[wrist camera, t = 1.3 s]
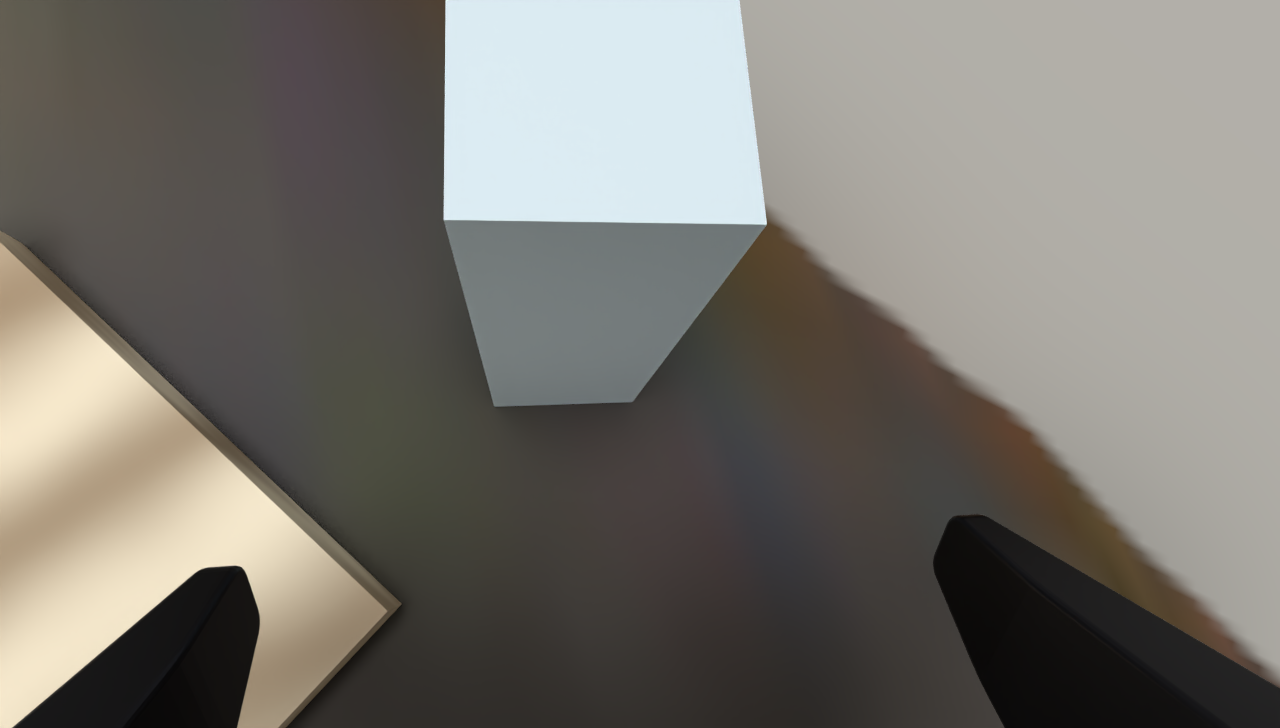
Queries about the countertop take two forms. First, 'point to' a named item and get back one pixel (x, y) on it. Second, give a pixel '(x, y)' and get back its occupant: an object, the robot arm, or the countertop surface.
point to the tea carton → (594, 184)
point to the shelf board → (143, 514)
